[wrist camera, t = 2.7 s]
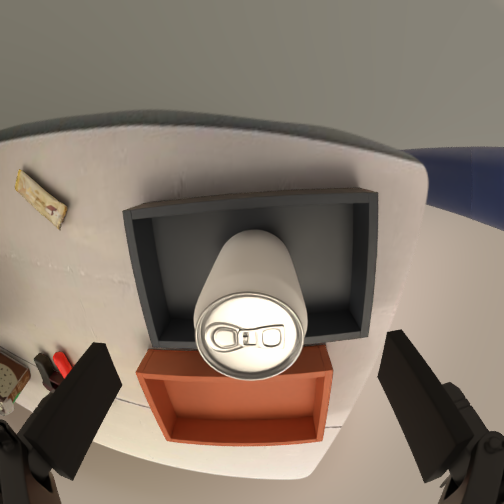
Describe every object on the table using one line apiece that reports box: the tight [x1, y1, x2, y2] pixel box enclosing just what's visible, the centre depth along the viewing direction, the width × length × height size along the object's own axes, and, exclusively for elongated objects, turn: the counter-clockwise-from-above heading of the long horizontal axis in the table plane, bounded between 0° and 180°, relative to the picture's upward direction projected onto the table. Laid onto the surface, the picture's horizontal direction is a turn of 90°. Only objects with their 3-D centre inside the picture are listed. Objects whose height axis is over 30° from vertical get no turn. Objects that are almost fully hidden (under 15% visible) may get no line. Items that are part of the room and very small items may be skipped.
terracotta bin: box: [136, 345, 333, 446], centre depth 28 cm, size 20×13×4 cm, turn 94°
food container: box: [0, 351, 31, 416], centre depth 29 cm, size 12×6×10 cm, turn 81°
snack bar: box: [15, 169, 67, 231], centre depth 23 cm, size 10×2×3 cm
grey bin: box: [123, 188, 378, 349], centre depth 23 cm, size 20×13×4 cm, turn 94°
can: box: [194, 230, 308, 381], centre depth 19 cm, size 6×6×12 cm
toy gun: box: [34, 352, 72, 394], centre depth 29 cm, size 10×12×5 cm
